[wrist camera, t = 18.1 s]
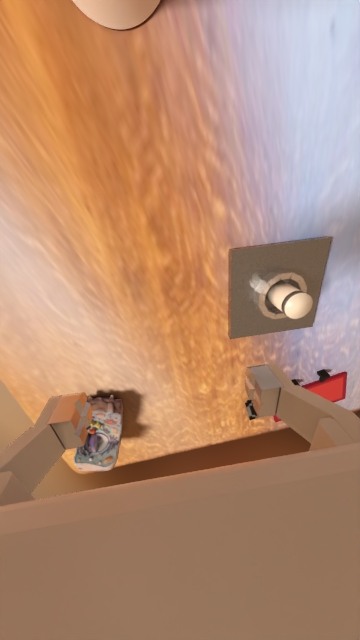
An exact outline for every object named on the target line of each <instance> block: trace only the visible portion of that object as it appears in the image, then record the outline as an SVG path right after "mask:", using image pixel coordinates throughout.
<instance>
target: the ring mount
mask: <svg viewBox="0 0 360 640" xmlns="http://www.w3.org/2000/svg"><path fill="white" fill-rule="evenodd" d="M331 238H332V237H320V238H312V239H305V240H297V241H289V242H281V243H274V244H266V245H258V246H251V247H243V248H235V249H229V315H228V336H229V337H230V339H234V338H240V337H247V336H253V335H260V334H267V333H273V332H280V331H286V330H293V329H300V328H306V327H312V326H313V321H314V317H315V312H316V307H317V303H318V298H319V294H320V289H321V284H322V280H323V275H324V271H325V266H326V261H327V257H328V252H329V247H330V243H331ZM279 280H283V281H285V282H286V283H288V284H290V285H292V286H294V287H296V288H297V289H299V290H301V291H303V292H305V293H307V294H309V295H310V296H311V297H312V300H313V305H312V308H311V310H310V311H309V312H308V313H307V314H306V315H305V316H303V317H301V318H298V319H292V318H289V317H288V316H286V315H285V314H284V313H283V312H282V311H281V310H279V309H278V308H277V307H276V306H274V305H273V304H272V303H271V302H269V301H268V300H267V299H266V297H265V295H266V293H267V292H268V290H269V288H270V287H271V286H272V285H273V284H275V283H276V282H278V281H279Z"/></svg>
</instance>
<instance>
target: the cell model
mask: <svg viewBox="0 0 360 640" xmlns="http://www.w3.org/2000/svg"><path fill="white" fill-rule="evenodd" d="M86 402H88V403H89V404H90V405H91V407H92V421H91V424H90V425H89V426H88V427H87V428H86V429H87V431H88V435H87V438H86V441H85V445H84V446H82V447H77V448H76V454H75V456H74V463H75V465H76V467H77V469H78V470H80V471H107V470H110V469H112V468H113V467H114V466H115V464H116V461H117V459H118V453H119V447H120V443H121V438H122V436H121V435H122V424H123V404H122V400H121V399H114V396H113V395H111V396H110V397H97V398H92V397H88V399H87V401H86Z"/></svg>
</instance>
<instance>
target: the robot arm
mask: <svg viewBox="0 0 360 640" xmlns="http://www.w3.org/2000/svg"><path fill="white" fill-rule="evenodd" d="M72 1H73V2H74V3H75V4H76V6H77V7H78V8H79V9H80V10H81V11H82V12H83V13H84V14H85V15H87V16H88V17H89V18H90V19H92V20H93V21H95V22H97V23H98V24H100V25H102V26H105V27H108V28H111V29H129V28H132V27H135V26H137V25H139V24H141V23H142V22H143V21H145V20H146V19H147V18H148V17H149V16H150V15H151V14H152V13H153V11H154V10H155V9H156V7H157V6H158V4H159V2H160V0H72ZM245 374H246V376H247V378H246V379H245V389H246V393H247V395H248V397H249V399H251V400H252V401H253V407H254V409H255V411H256V413H257V415H258V417H264V416H271V415H276V416H277V417H278V418H279V419H281V420H282V421H283V422H284V423H286V424H287V425H288V426H290V427H291V428H292V429H293V430H295V431H296V432H297V433H299V434H300V435H301V436H302V437H304V438H305V439H306V440H308V441H309V442H310V443H311V447H310V450H309V451H308V452H303V453H297V454H291V455H286V456H280V457H274V458H269V459H263V460H257V461H252V462H246V463H241V464H235V465H230V466H224V467H218V468H212V469H206V470H201V471H195V472H189V473H185V474H178V475H173V476H167V477H161V478H156V479H150V480H144V481H139V482H133V483H128V484H122V485H117V486H110V487H105V488H99V489H93V490H88V491H83V492H76V493H71V494H65V495H59V496H54V497H48V498H43V499H37V500H36V499H35V498H34V497H33V496H32V494H31V493H32V492H33V490H34V489H35V488H36V487H37V485H38V484H39V483H40V482H41V480H42V479H43V478H44V477H45V475H46V474H47V473H48V472H49V471H50V469H51V468H52V466H54V464H55V463H56V462H57V460H58V459H59V458H60V457H61V456H62V454H63V453H64V452H65V450H66V449H72V448H77V447H82V446H84V445H85V441H86V438H87V435H88V431H87V429H86V428H87V427H88V426H89V425H90V424H91V421H92V407H91V405H90V404H89V403H88V402H86V401H87V396H86V394H85V393H75V394H67V395H61V396H53V397H51V398H50V399H49V400H48V402H47V404H46V406H45V408H44V409H43V411H42V413H41V415H40V417H39V418H38V420H37V422H36V424H35V426H34V427H31V428H29V429H28V430H27V431H25V432H24V433H23V434H22V435H21V436H20V437H18V438H17V439H16V440H15V441H13V442H12V443H11V444H10V445H9V446H7V447H6V448H5V449H4V450H3V451H1V452H0V640H360V419H359V418H358V417H357V416H356V415H355V414H354V413H353V412H351V411H349V410H347V409H345V408H343V407H341V406H339V405H337V404H335V403H333V402H331V401H329V400H327V399H325V398H323V397H321V396H319V395H317V394H315V393H313V392H311V391H309V390H307V389H305V388H303V387H301V386H299V385H294V384H293V382H292V381H291V380H290V379H289V378H288V376H287V375H286V374H285V373H284V371H283V370H282V369H281V368H280V367H279V365H278V364H277V363H271V364H266V365H259V366H253V367H247V368H246V372H245Z"/></svg>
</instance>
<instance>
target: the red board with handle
mask: <svg viewBox="0 0 360 640" xmlns="http://www.w3.org/2000/svg"><path fill="white" fill-rule="evenodd" d="M317 374H318V375H319V376H320V379H319V380H318V381H315V382H312V383H309V384H307V385H304V386H301V387H303V388H305V389H307V390H309V391H311V392H313V393H315V394H317V395H319V396H321V397H323V398H325V399H327V400H329V401H331V402H336V401H339V400H342V399H345V392H346V378H347V373H346V372H342V373H339V374H336V375H333V376H330V375H329V374H328V373H327V372H326V371H325V370H324V369H323V370H320V371H317ZM291 381H292V382H293V384H294V385H299V384H298V383H297V381H296V380H295V379H294V380H291ZM299 386H300V385H299ZM245 404H246V408H247V411H248V415H249V418H250V420H252V419H255V418H258V415H257V413H256V411H255V409H254V407H253V401H250V402H247V403H245ZM272 416H274V420H275V422H278V421H281V419H279V418H278V417H277V416H276V415H272Z"/></svg>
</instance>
